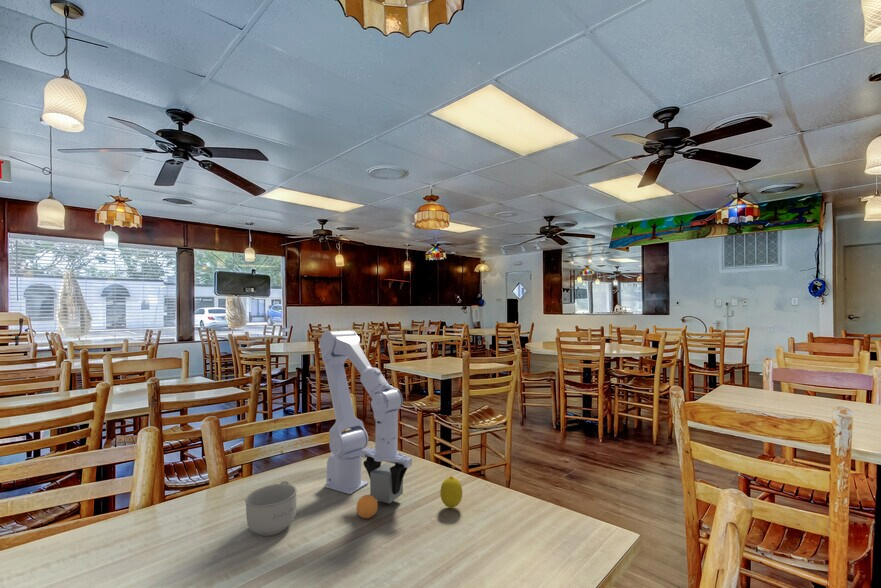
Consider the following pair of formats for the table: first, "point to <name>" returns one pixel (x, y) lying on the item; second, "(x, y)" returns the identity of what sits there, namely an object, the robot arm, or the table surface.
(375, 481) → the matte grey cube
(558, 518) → the table surface
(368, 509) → the ball
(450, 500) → the lemon
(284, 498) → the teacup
